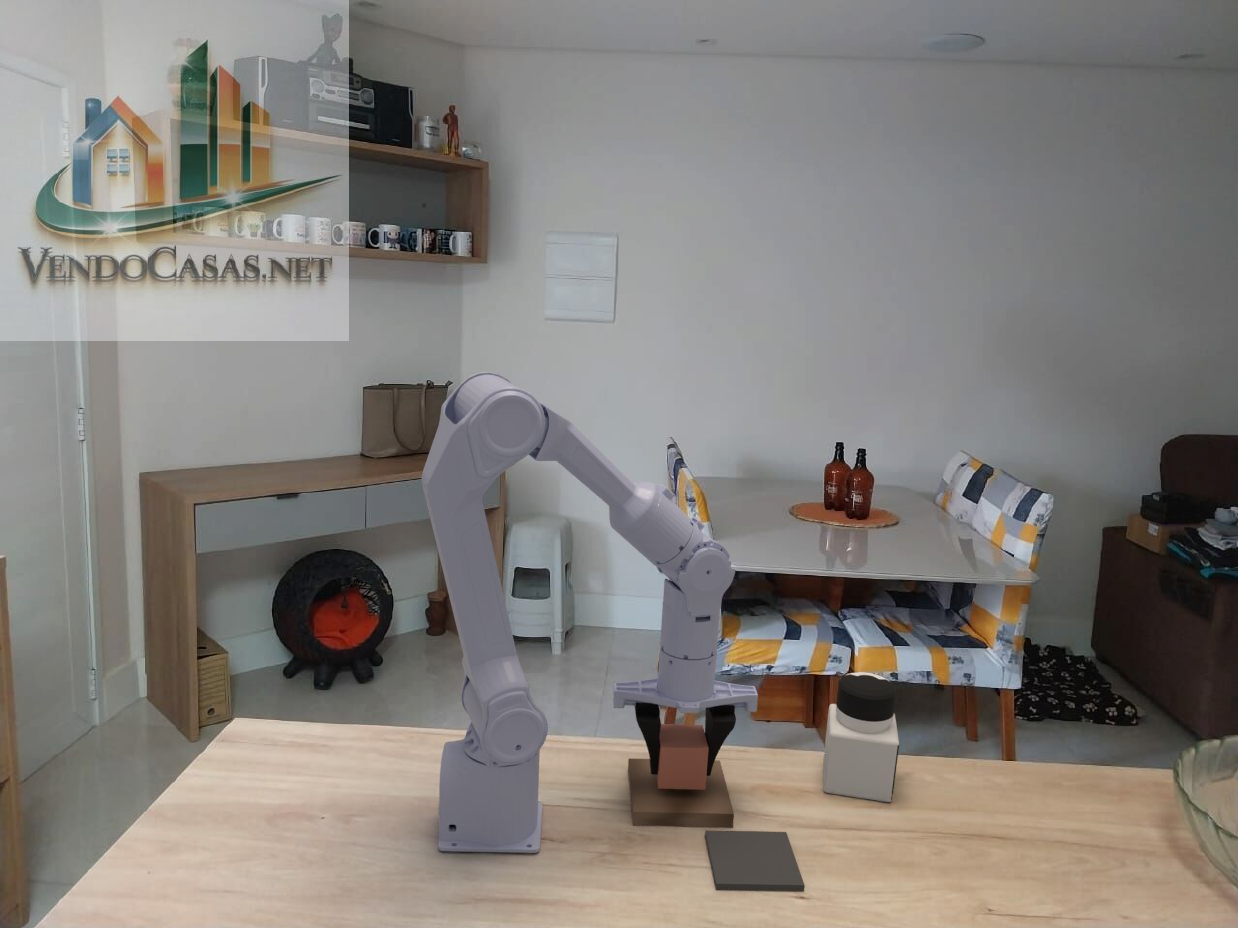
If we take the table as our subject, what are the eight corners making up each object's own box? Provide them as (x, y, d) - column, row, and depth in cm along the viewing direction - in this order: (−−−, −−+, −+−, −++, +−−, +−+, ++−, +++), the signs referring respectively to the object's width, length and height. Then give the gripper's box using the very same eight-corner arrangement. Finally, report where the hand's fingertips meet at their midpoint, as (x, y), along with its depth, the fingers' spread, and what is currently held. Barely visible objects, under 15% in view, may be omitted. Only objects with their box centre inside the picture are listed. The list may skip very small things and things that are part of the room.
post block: (632, 825, 96) (636, 765, 95) (627, 770, 106) (630, 716, 104) (732, 826, 97) (737, 768, 95) (718, 772, 106) (723, 718, 105)
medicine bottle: (892, 804, 102) (905, 699, 99) (823, 793, 103) (834, 690, 100) (888, 769, 109) (900, 670, 106) (823, 759, 110) (833, 661, 107)
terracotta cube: (658, 788, 98) (660, 747, 97) (654, 763, 103) (657, 723, 102) (705, 789, 98) (708, 748, 97) (699, 764, 103) (702, 724, 102)
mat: (715, 889, 87) (716, 883, 87) (704, 835, 95) (705, 830, 95) (804, 890, 88) (804, 884, 87) (785, 837, 95) (786, 831, 95)
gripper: (617, 663, 93) (611, 789, 96) (767, 667, 94) (756, 792, 97) (615, 633, 100) (609, 752, 103) (754, 637, 101) (744, 755, 104)
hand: (679, 769), depth 100 cm, fingers closed on terracotta cube, 5 cm apart
